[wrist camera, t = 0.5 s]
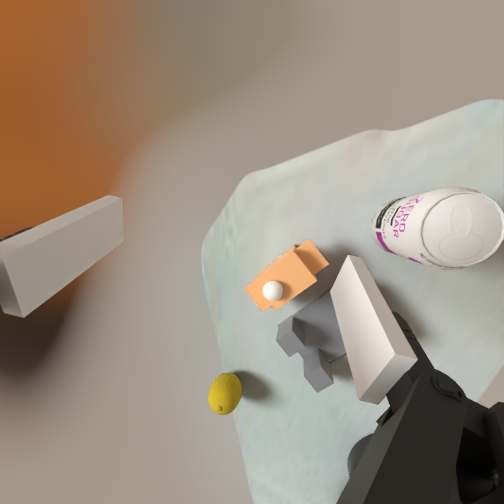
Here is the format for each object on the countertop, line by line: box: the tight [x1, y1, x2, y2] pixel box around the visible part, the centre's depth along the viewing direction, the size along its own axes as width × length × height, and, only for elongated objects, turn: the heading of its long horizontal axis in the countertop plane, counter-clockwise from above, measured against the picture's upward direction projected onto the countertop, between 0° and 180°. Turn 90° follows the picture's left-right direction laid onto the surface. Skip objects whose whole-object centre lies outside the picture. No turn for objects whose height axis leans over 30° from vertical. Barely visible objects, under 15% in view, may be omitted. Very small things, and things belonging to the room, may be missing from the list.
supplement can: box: [371, 187, 504, 270], centre depth 30 cm, size 8×8×15 cm
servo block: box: [245, 239, 329, 312], centre depth 36 cm, size 5×12×10 cm, turn 129°
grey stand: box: [276, 288, 346, 393], centre depth 38 cm, size 10×15×6 cm, turn 129°
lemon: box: [208, 373, 242, 415], centre depth 42 cm, size 6×6×8 cm
